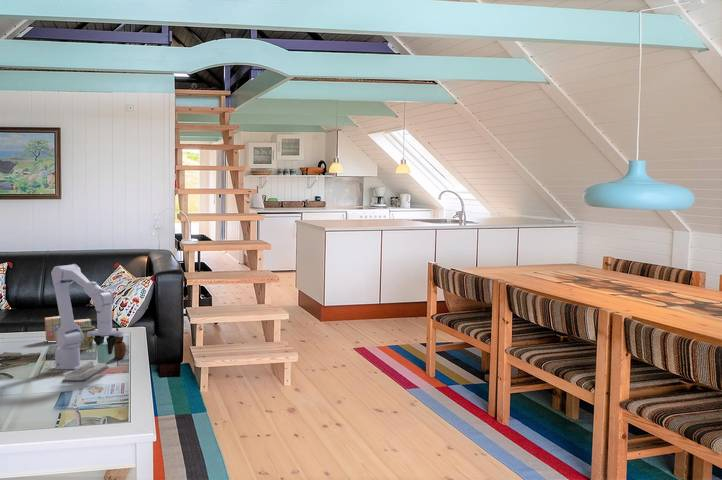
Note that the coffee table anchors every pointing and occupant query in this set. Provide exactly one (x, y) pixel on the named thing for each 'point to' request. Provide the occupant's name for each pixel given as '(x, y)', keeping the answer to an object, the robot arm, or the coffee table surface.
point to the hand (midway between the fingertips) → (106, 353)
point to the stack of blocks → (54, 324)
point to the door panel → (104, 353)
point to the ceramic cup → (87, 341)
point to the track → (84, 372)
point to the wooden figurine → (119, 347)
